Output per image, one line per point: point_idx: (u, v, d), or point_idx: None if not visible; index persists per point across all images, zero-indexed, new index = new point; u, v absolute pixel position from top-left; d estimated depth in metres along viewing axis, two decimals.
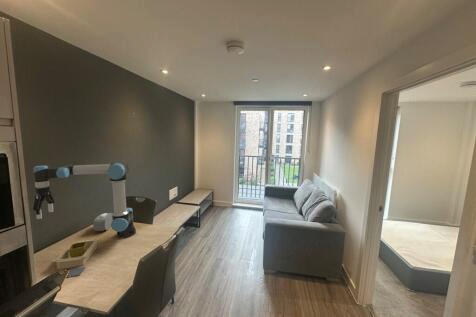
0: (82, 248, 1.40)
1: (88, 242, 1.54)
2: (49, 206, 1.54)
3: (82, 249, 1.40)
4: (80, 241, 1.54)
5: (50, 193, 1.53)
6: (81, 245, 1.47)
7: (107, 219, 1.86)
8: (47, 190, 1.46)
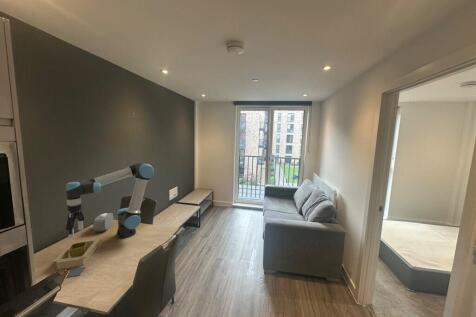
0: (82, 248, 1.40)
1: (88, 242, 1.54)
2: (79, 224, 1.47)
3: (82, 249, 1.40)
4: (80, 241, 1.54)
5: (81, 210, 1.46)
6: (81, 245, 1.47)
7: (107, 219, 1.86)
8: (79, 208, 1.39)
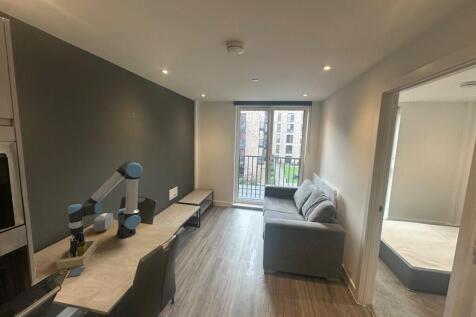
0: (82, 248, 1.40)
1: (88, 242, 1.54)
2: None
3: (82, 249, 1.40)
4: None
5: (82, 232, 1.48)
6: (81, 245, 1.47)
7: (107, 219, 1.86)
8: (81, 230, 1.41)
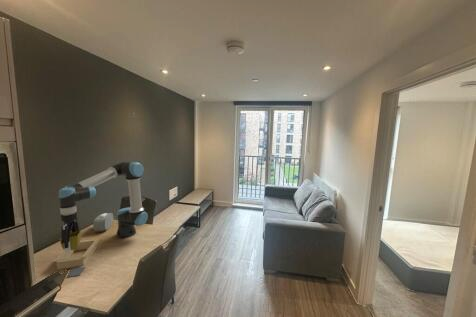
0: (75, 238, 1.22)
1: (88, 242, 1.54)
2: None
3: (75, 239, 1.22)
4: (80, 241, 1.54)
5: (76, 220, 1.29)
6: (74, 235, 1.28)
7: (107, 219, 1.86)
8: (74, 217, 1.23)
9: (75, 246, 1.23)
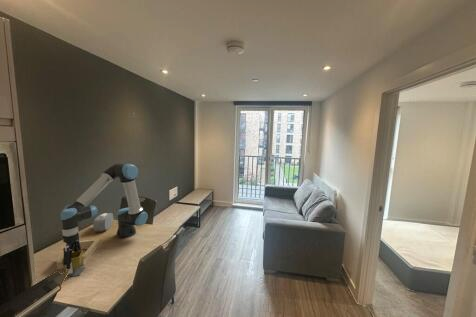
0: (77, 258, 1.23)
1: (88, 242, 1.54)
2: None
3: (77, 260, 1.23)
4: (80, 241, 1.54)
5: (78, 240, 1.31)
6: (76, 255, 1.30)
7: (107, 219, 1.86)
8: (76, 238, 1.24)
9: (77, 266, 1.24)
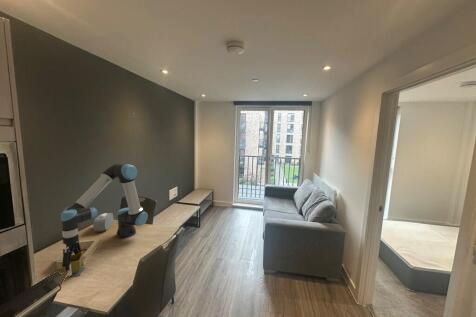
0: (77, 262, 1.23)
1: (88, 242, 1.54)
2: None
3: (77, 263, 1.24)
4: (80, 241, 1.54)
5: (78, 241, 1.30)
6: (77, 257, 1.30)
7: (107, 219, 1.86)
8: (76, 239, 1.24)
9: (77, 270, 1.25)
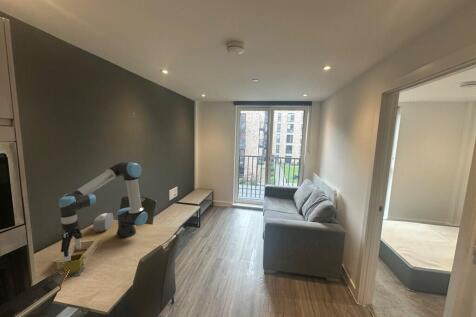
0: (77, 262, 1.24)
1: (88, 242, 1.54)
2: (76, 242, 1.31)
3: (77, 263, 1.24)
4: None
5: (77, 227, 1.30)
6: (77, 257, 1.30)
7: (107, 219, 1.86)
8: (75, 226, 1.23)
9: (77, 269, 1.25)
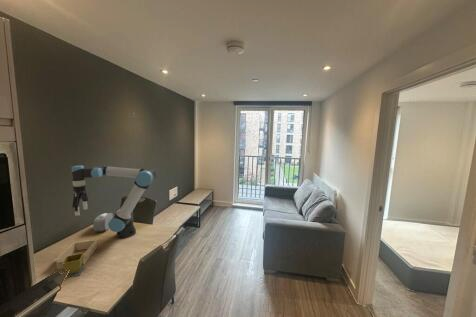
0: (77, 262, 1.24)
1: (88, 242, 1.54)
2: (84, 204, 1.63)
3: (77, 263, 1.24)
4: (80, 241, 1.54)
5: (85, 191, 1.62)
6: (77, 257, 1.30)
7: (107, 219, 1.86)
8: (83, 188, 1.55)
9: (77, 269, 1.25)
